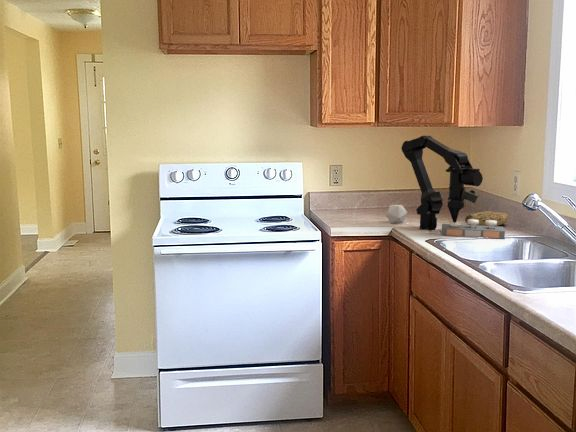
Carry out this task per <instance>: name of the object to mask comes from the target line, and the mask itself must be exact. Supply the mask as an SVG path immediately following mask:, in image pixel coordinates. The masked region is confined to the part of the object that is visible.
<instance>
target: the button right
mask: <svg viewBox="0 0 576 432" xmlns="http://www.w3.org/2000/svg"><path fill="white" fill-rule="evenodd" d="M485 225H488V229H493V228H494V226H495V225H497V221H495V220H486V221H485Z"/></svg>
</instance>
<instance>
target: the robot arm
mask: <svg viewBox="0 0 576 432" xmlns="http://www.w3.org/2000/svg"><path fill="white" fill-rule="evenodd" d="M426 148H427V149H429V150H430V151H432V152H433V153H434V154H437V155H438V156H440V157H442V158H443V159H444V161H445V163H446V164H447V165H448V167H447V168H446V169H445V172H446V173H449V184H448V185H449V187H448V197H447V208H448V210H449V215H450V217H451V220H452V222H454V223H456V222H458V216H459V213H460V210H462V209H464V208H465V202H464V201H465V200H466V201H469V202H471V203H472V204H476V202H477V201H478V198H479V195H478V194H477V193H476V191H475V190H473V189H470V190H466V188H465V186H472V187H479V186H481V184H482V183H483V180H484V179H483V174H482V173H481V171H480V168H473V165H472V164H471V162H470V160H469V158H468V154H467V153H466V152H464V151H460V150H457V149H453V148H450V147H449V146H447V145H445V144H443V142H441V141H439V140H437V139H435V138H433V136H432V135H421V136H419V137H416V138H413V139H409V140H405V141H404V142H402V145H401V152H402V153H403V155H404V157H405V158H406V159H407V161H409V162H410V164H411V167H412V170H413V173H414V175H415V178H416V180H417V184H418V186H419V189H420V192H421V195H420V203H421V204H419V206H418V207H417V208H416V215H419V227H418V229H419V230H427V231H429V230H430V231H435V230H436V229H437V226H438V217H436V216H437V215H440V212H441V209H442V207H443V205H444V204H443V201H444V199H443V198H442V194H441V191H435V189H434V188H433V185H432V181H431V179H430V177H429V174H428V171H427V169H426V166H425V163H424V160H423V154H424V149H426Z"/></svg>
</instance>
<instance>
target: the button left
mask: <svg viewBox="0 0 576 432" xmlns="http://www.w3.org/2000/svg"><path fill="white" fill-rule="evenodd" d="M448 222H449V223H448V224H449V226H451V227H460V225H461V221H456V223H454V222H453V221H448Z"/></svg>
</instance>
